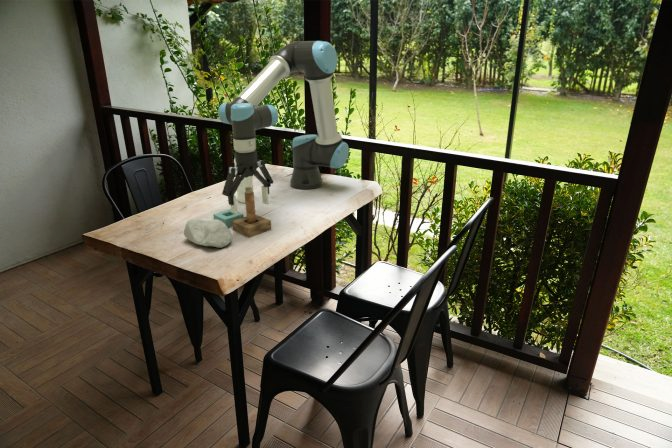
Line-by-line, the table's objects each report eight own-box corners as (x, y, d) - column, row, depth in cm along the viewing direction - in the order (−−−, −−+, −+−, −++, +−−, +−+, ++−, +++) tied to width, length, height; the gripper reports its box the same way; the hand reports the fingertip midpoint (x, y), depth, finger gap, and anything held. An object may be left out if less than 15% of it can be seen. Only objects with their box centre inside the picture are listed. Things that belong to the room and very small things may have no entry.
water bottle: (250, 203, 197) (246, 145, 187) (235, 202, 198) (229, 144, 189) (256, 198, 203) (252, 141, 194) (241, 197, 205) (236, 140, 195)
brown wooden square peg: (253, 227, 173) (249, 186, 167) (258, 229, 171) (255, 188, 165) (246, 229, 171) (242, 188, 165) (251, 232, 169) (247, 190, 163)
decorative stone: (239, 233, 162) (225, 216, 154) (226, 257, 157) (210, 241, 150) (202, 228, 170) (186, 211, 162) (188, 251, 165) (172, 235, 158)
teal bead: (232, 217, 183) (231, 208, 182) (244, 222, 178) (243, 213, 176) (214, 222, 178) (213, 214, 176) (225, 228, 173) (225, 219, 171)
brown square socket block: (255, 222, 178) (254, 213, 176) (271, 229, 171) (270, 220, 170) (232, 229, 171) (231, 221, 170) (248, 237, 165) (248, 228, 163)
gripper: (219, 159, 149) (226, 220, 158) (280, 145, 166) (284, 201, 174) (207, 155, 154) (214, 214, 162) (267, 142, 170) (271, 197, 179)
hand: (250, 208), depth 168 cm, fingers open, 13 cm apart
